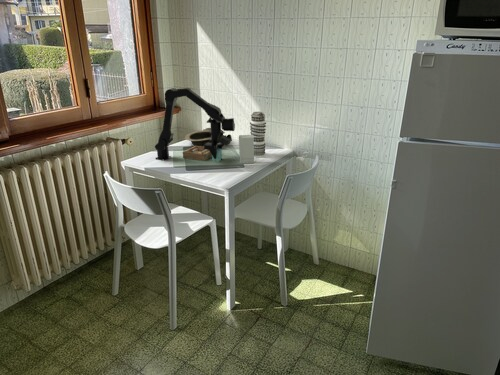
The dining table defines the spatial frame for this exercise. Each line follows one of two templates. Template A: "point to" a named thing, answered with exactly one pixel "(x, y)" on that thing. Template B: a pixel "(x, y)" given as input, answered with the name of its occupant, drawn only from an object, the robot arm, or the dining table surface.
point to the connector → (218, 155)
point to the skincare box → (246, 148)
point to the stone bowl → (200, 137)
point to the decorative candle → (258, 133)
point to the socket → (197, 151)
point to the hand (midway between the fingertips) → (217, 157)
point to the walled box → (198, 155)
